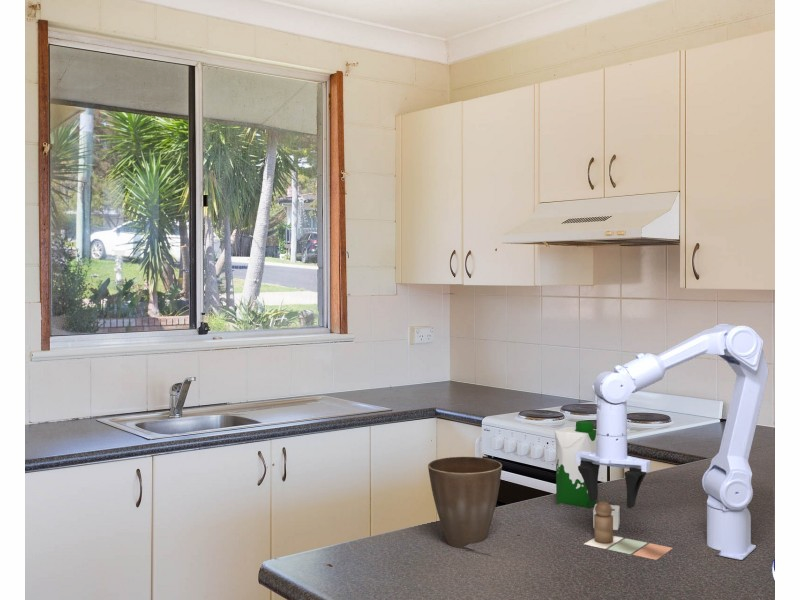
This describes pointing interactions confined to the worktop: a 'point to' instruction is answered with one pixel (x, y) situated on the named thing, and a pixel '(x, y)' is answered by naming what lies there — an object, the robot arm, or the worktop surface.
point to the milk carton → (573, 463)
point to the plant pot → (465, 496)
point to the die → (614, 513)
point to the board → (633, 547)
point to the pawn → (603, 523)
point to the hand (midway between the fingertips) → (611, 503)
